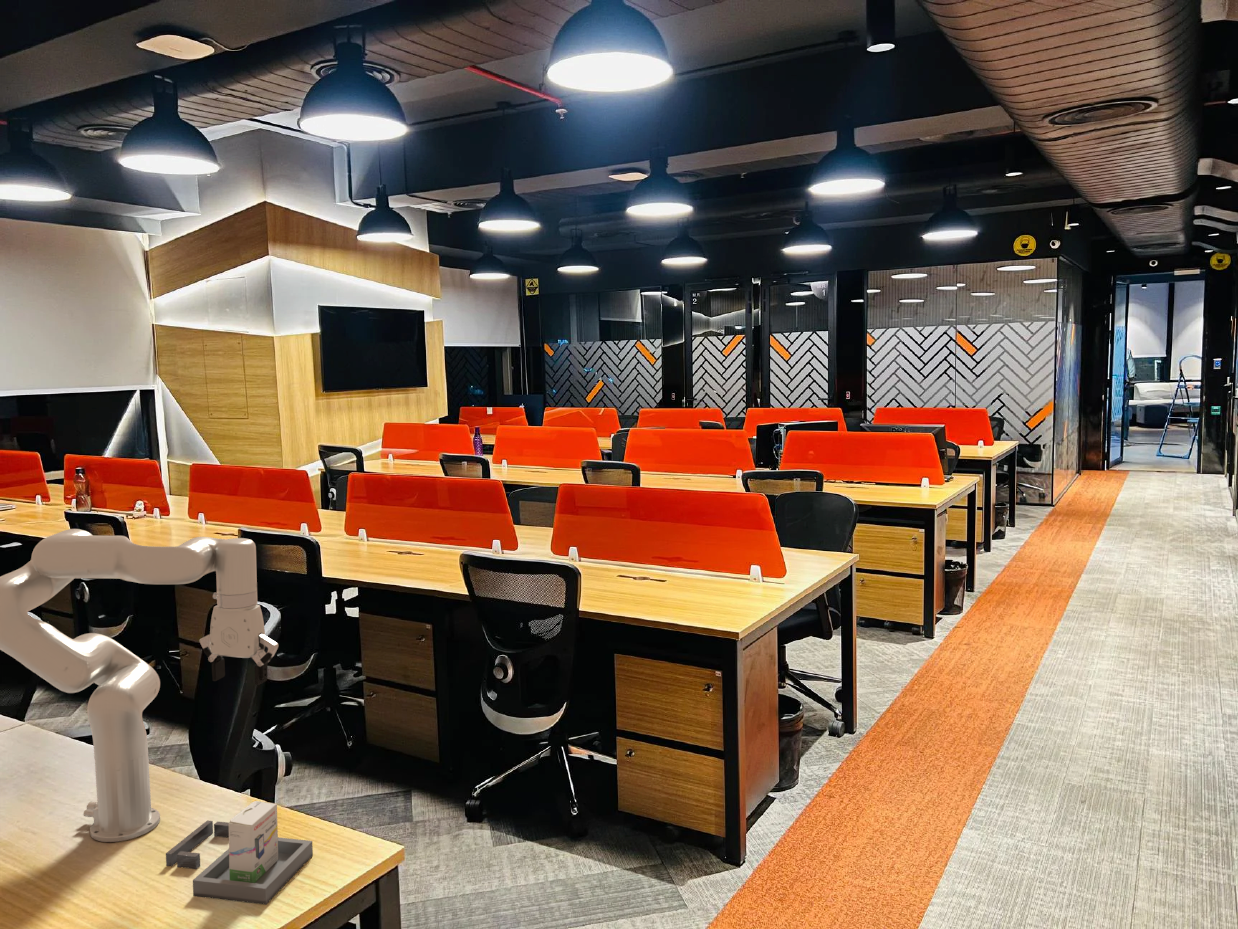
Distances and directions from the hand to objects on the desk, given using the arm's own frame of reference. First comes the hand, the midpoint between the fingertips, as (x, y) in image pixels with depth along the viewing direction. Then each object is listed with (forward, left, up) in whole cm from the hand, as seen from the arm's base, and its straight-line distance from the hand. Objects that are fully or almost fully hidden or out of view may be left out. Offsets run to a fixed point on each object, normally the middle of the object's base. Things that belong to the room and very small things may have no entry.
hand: (239, 681), depth 184 cm
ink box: (+14, -18, -30) cm, 37 cm away
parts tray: (+14, -18, -30) cm, 38 cm away
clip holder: (-1, -12, -30) cm, 32 cm away
